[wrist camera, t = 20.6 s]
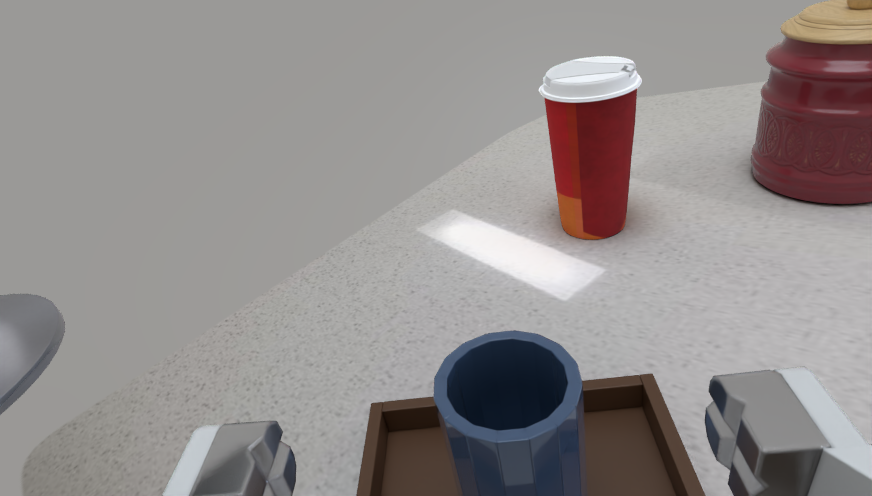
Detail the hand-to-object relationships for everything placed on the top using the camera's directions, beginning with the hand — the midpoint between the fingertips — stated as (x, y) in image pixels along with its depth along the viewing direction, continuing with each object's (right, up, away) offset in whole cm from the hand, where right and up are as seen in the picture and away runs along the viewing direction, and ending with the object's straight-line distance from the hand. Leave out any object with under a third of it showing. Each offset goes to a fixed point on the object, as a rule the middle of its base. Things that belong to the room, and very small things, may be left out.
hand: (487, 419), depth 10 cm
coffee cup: (+14, +6, +42) cm, 45 cm away
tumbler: (+4, -11, +19) cm, 22 cm away
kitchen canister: (+37, +10, +42) cm, 57 cm away
